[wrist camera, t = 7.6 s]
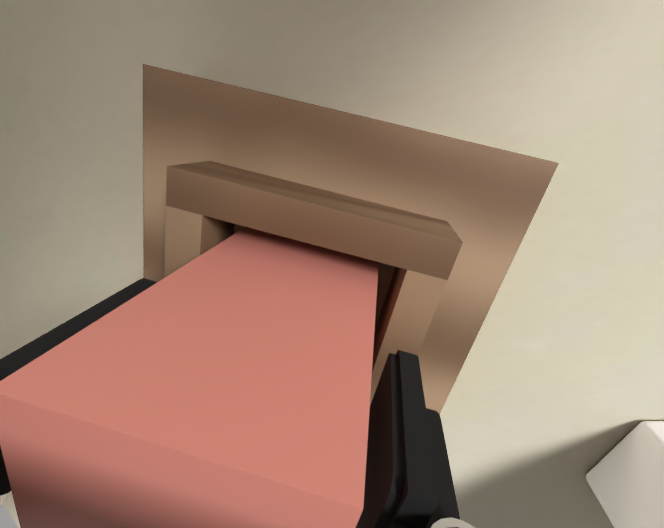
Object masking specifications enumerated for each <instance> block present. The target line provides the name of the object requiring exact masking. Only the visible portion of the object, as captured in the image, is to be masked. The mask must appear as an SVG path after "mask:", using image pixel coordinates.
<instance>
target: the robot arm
mask: <svg viewBox="0 0 664 528" xmlns="http://www.w3.org/2000/svg"><path fill="white" fill-rule="evenodd" d="M156 283H157V282H156V281H153V280H149V279H145V278H143V279H140V280H138V281H137V282H135V283H133V284H131V285H130V286H128V287H126V288H124V289H123V290H121V291H119V292H117V293H116V294H114V295H112V296H110V297H109V298H107V299H105V300H103V301H102V302H100V303H98V304H96V305H95V306H93V307H91V308H89V309H88V310H86V311H84V312H82V313H81V314H79V315H77V316H75V317H74V318H72V319H70V320H68V321H67V322H65V323H63V324H61V325H60V326H58V327H56V328H54V329H53V330H51V331H49V332H48V333H46V334H44V335H42V336H41V337H39V338H37V339H35V340H34V341H32V342H30V343H28V344H27V345H25V346H23V347H21V348H20V349H18V350H16V351H14V352H13V353H11V354H9V355H7V356H6V357H4V358H2V359H0V381H1V380H3V379H5V378H6V377H8V376H9V375H11V374H13V373H14V372H16V371H17V370H19V369H20V368H22V367H24V366H25V365H27V364H28V363H30V362H32V361H33V360H35V359H36V358H38V357H40V356H41V355H43V354H44V353H46V352H48V351H49V350H51V349H52V348H54V347H55V346H57V345H59V344H60V343H62V342H63V341H65V340H67V339H68V338H70V337H71V336H73V335H75V334H76V333H78V332H79V331H81V330H83V329H84V328H86V327H87V326H89V325H90V324H92V323H94V322H95V321H97V320H98V319H100V318H102V317H103V316H105V315H106V314H108V313H110V312H111V311H113V310H114V309H116V308H118V307H119V306H121V305H122V304H124V303H125V302H127V301H129V300H130V299H132V298H133V297H135V296H137V295H138V294H140V293H141V292H143V291H145V290H146V289H148V288H149V287H151V286H153V285H154V284H156ZM10 491H11V486H10V482H9V478H8V474H7V470H6V466H5V462H4V458H3V454H2V450H1V446H0V507H1V505H2V503H3V501H4V500H5V498H6V496H7V494H8V493H9V492H10ZM356 528H475V527H473V526H472V525H470V524H468V523H467V522H465V521H463V520H460V517H459V512H458V507H457V502H456V496H455V491H454V486H453V481H452V476H451V470H450V465H449V460H448V455H447V450H446V444H445V439H444V434H443V429H442V424H441V419H440V415H439V413H438V412H437V411H435V410H431V409H428V408H426V405H425V398H424V391H423V385H422V378H421V371H420V364H419V358H418V355H415V354H412V353H408V352H405V351H401V350H397V352H396V354H393V353H389V355H388V357H387V360H386V363H385V366H384V369H383V371H382V374H381V377H380V380H379V383H378V385H377V388H376V391H375V394H374V396H373V399H372V402H371V405H370V411H369V427H368V442H367V458H366V474H365V490H364V506H363V511H362V513H361V516H360V518H359V521H358V523H357V525H356Z"/></svg>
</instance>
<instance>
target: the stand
mask: <svg viewBox="0 0 664 528" xmlns="http://www.w3.org/2000/svg"><path fill="white" fill-rule="evenodd" d="M558 164H559V163H556V162H552V161H548V160H543V159H539V158H535V157H531V156H527V155H522V154H518V153H514V152H510V151H506V150H501V149H497V148H493V147H489V146H485V145H480V144H476V143H472V142H468V141H464V140H459V139H455V138H451V137H447V136H443V135H438V134H434V133H430V132H426V131H422V130H417V129H413V128H409V127H405V126H401V125H396V124H392V123H388V122H384V121H380V120H375V119H371V118H367V117H363V116H359V115H355V114H350V113H346V112H342V111H338V110H334V109H329V108H325V107H321V106H317V105H313V104H308V103H304V102H300V101H296V100H292V99H287V98H283V97H279V96H275V95H271V94H266V93H262V92H258V91H254V90H250V89H245V88H241V87H237V86H233V85H229V84H224V83H220V82H216V81H212V80H208V79H203V78H199V77H195V76H191V75H187V74H182V73H178V72H174V71H170V70H166V69H161V68H157V67H153V66H149V65H145V64H143V217H144V278H145V279H149V280H153V281H156V282H159V281H160V280H162V279H164V278H165V277H167V276H168V275H170V274H172V273H173V272H175V271H176V270H178V269H180V268H181V267H183V266H184V265H186V264H187V263H189V262H191V261H192V260H194V259H195V258H197V257H199V256H200V255H202V254H203V253H205V252H207V251H208V250H210V249H211V248H213V247H215V246H216V245H218V244H219V243H221V242H222V241H224V240H226V239H227V238H229V237H230V236H232V235H234V234H235V233H237V232H238V231H240V230H242V229H243V228H245V227H249V228H252V229H256V230H260V231H264V232H267V233H271V234H275V235H279V236H283V237H286V238H290V239H294V240H298V241H301V242H305V243H309V244H313V245H316V246H320V247H324V248H328V249H331V250H335V251H339V252H343V253H346V254H350V255H354V256H358V257H362V258H365V259H369V260H373V261H377V262H379V267H378V283H377V299H376V315H375V331H374V347H373V363H372V379H371V395H370V405H371V402H372V399H373V396H374V394H375V391H376V388H377V385H378V383H379V380H380V377H381V374H382V371H383V369H384V366H385V363H386V360H387V357H388V355H389V353H393V354H396V352H397V350H401V351H405V352H408V353H412V354H415V355H418V358H419V364H420V371H421V378H422V385H423V391H424V398H425V405H426V408H428V409H431V410H435V411H437V412H438V413H439V414H440V412H441V410H442V408H443V406H444V404H445V402H446V399H447V397H448V395H449V393H450V391H451V389H452V387H453V385H454V383H455V381H456V378H457V376H458V374H459V372H460V370H461V368H462V366H463V364H464V362H465V359H466V357H467V355H468V353H469V351H470V349H471V347H472V345H473V343H474V341H475V338H476V336H477V334H478V332H479V330H480V328H481V326H482V324H483V322H484V319H485V317H486V315H487V313H488V311H489V309H490V307H491V305H492V303H493V301H494V298H495V296H496V294H497V292H498V290H499V288H500V286H501V284H502V282H503V279H504V277H505V275H506V273H507V271H508V269H509V267H510V265H511V263H512V260H513V258H514V256H515V254H516V252H517V250H518V248H519V246H520V244H521V242H522V239H523V237H524V235H525V233H526V231H527V229H528V227H529V225H530V223H531V220H532V218H533V216H534V214H535V212H536V210H537V208H538V206H539V204H540V202H541V199H542V197H543V195H544V193H545V191H546V189H547V187H548V185H549V183H550V180H551V178H552V176H553V174H554V172H555V170H556V168H557V166H558Z"/></svg>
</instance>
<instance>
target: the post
mask: <svg viewBox="0 0 664 528" xmlns="http://www.w3.org/2000/svg"><path fill="white" fill-rule="evenodd" d="M378 267H379V262H377V261H373V260H369V259H365V258H362V257H358V256H354V255H350V254H346V253H343V252H339V251H335V250H331V249H328V248H324V247H320V246H316V245H313V244H309V243H305V242H301V241H298V240H294V239H290V238H286V237H283V236H279V235H275V234H271V233H267V232H264V231H260V230H256V229H252V228H249V227H245V228H243V229H242V230H240V231H238V232H237V233H235V234H234V235H232V236H230V237H229V238H227V239H226V240H224V241H222V242H221V243H219V244H218V245H216V246H215V247H213V248H211V249H210V250H208V251H207V252H205V253H203V254H202V255H200V256H199V257H197V258H195V259H194V260H192V261H191V262H189V263H187V264H186V265H184V266H183V267H181V268H180V269H178V270H176V271H175V272H173V273H172V274H170V275H168V276H167V277H165V278H164V279H162V280H160V281H159V282H157V283H156V284H154V285H153V286H151V287H149V288H148V289H146V290H145V291H143V292H141V293H140V294H138V295H137V296H135V297H133V298H132V299H130V300H129V301H127V302H125V303H124V304H122V305H121V306H119V307H118V308H116V309H114V310H113V311H111V312H110V313H108V314H106V315H105V316H103V317H102V318H100V319H98V320H97V321H95V322H94V323H92V324H90V325H89V326H87V327H86V328H84V329H83V330H81V331H79V332H78V333H76V334H75V335H73V336H71V337H70V338H68V339H67V340H65V341H63V342H62V343H60V344H59V345H57V346H55V347H54V348H52V349H51V350H49V351H48V352H46V353H44V354H43V355H41V356H40V357H38V358H36V359H35V360H33V361H32V362H30V363H28V364H27V365H25V366H24V367H22V368H20V369H19V370H17V371H16V372H14V373H13V374H11V375H9V376H8V377H6V378H5V379H3V380H1V381H0V446H1V450H2V454H3V458H4V462H5V466H6V470H7V474H8V478H9V482H10V486H11V490H12V494H13V499H14V503H15V507H16V511H17V515H18V519H19V523H20V527H21V528H356V525H357V523H358V521H359V518H360V516H361V513H362V511H363V506H364V490H365V474H366V458H367V442H368V427H369V411H370V395H371V379H372V363H373V347H374V331H375V315H376V299H377V283H378Z"/></svg>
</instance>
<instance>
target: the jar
mask: <svg viewBox="0 0 664 528" xmlns="http://www.w3.org/2000/svg"><path fill="white" fill-rule="evenodd" d="M586 480H587V482H588V484H589V485H590V487H591V489H592V491H593V492H594V494H595V496H596V497H597V499H598V501H599V503H600V504H601V506H602V508H603V509H604V511H605V513H606V514H607V516H608V518H609V520H610V521H611V523H612V525H613V526H614V528H664V421H642V422H640V423H639V424H638V425H637V426H636V427H635V428H634V429H633V430H632V431H631V432H630V433H629V434H628V435H627V436H626V437H625V438H624V439H623V440H621V441H620V442H619V443H618V444H617V445H616V446H615V447H614V448H613V449H612V450H611V451H610V452H609V453H608V454H607V455H606V456H605V457H604V458H603V459H602V460H601V461H600V462H599V463H598V464H597V465H595V466H594V467H593V468H592V469H591V470H590V471H589V472H588V473H587V474H586Z"/></svg>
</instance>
